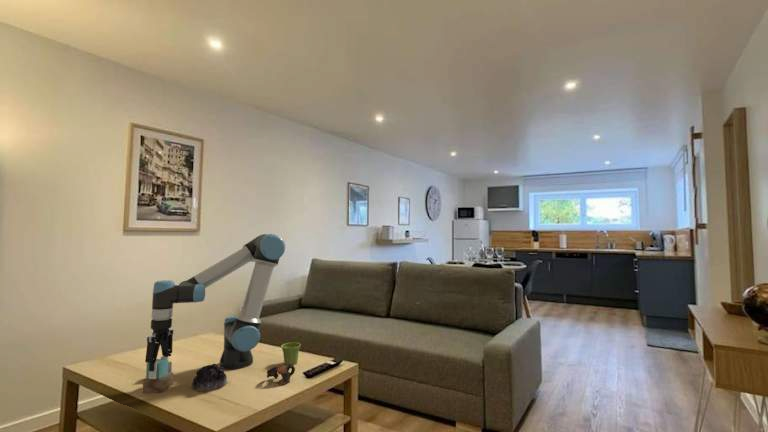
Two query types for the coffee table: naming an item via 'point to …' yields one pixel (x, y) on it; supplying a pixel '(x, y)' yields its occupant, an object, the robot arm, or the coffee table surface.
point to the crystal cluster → (209, 378)
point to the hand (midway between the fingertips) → (158, 375)
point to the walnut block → (158, 384)
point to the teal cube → (159, 368)
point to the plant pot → (290, 352)
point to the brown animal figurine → (283, 371)
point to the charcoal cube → (169, 367)
